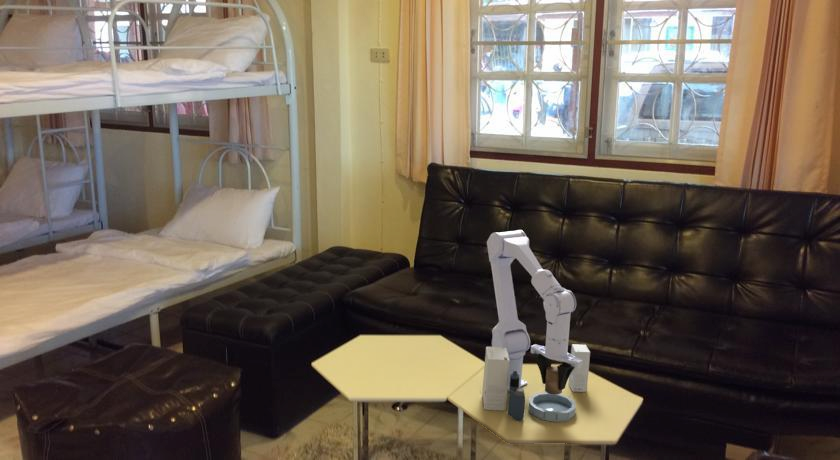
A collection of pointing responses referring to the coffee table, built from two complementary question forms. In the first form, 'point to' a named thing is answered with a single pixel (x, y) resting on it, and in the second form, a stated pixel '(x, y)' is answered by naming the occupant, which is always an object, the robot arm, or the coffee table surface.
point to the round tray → (552, 407)
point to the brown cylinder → (552, 380)
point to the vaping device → (516, 398)
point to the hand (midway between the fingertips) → (553, 385)
